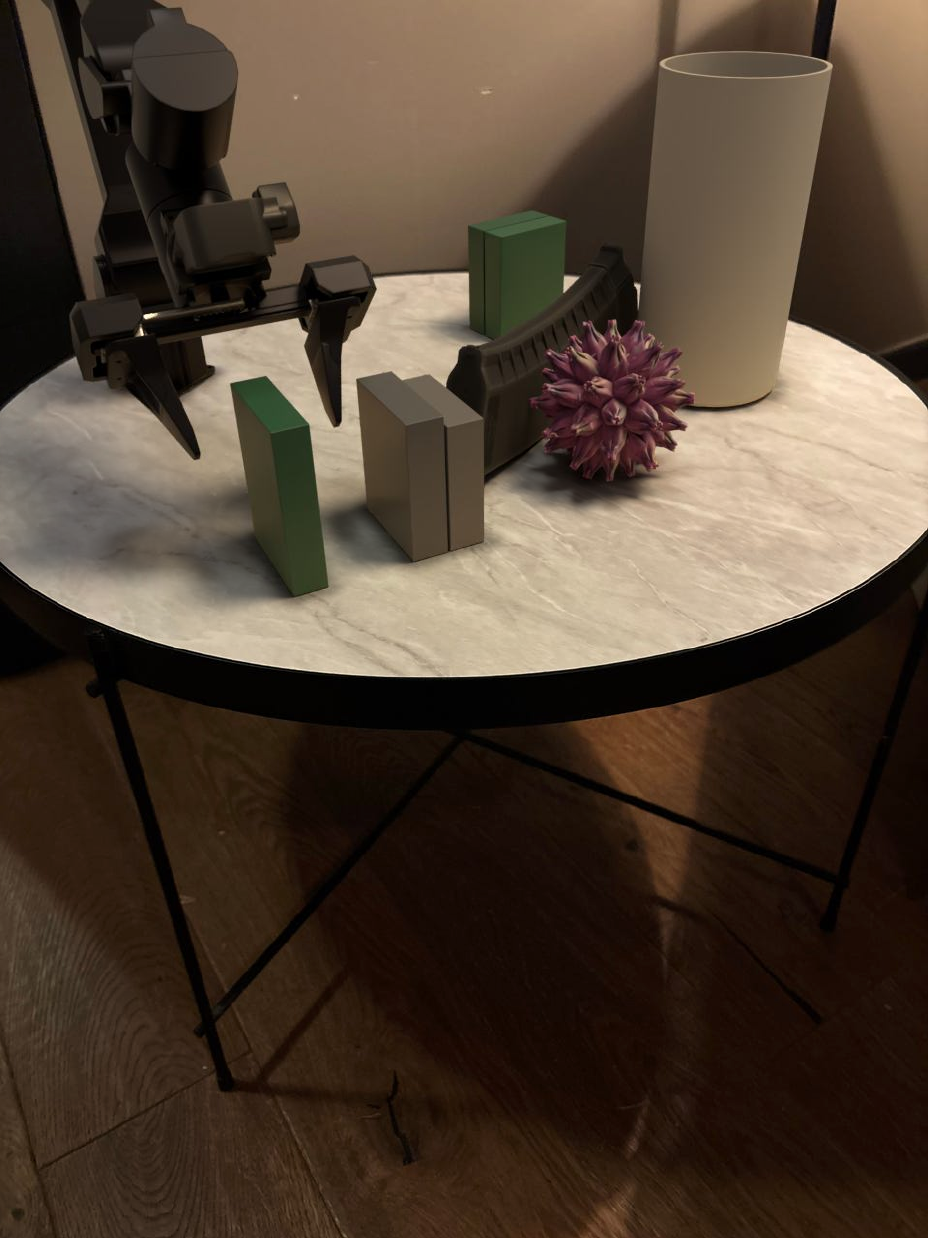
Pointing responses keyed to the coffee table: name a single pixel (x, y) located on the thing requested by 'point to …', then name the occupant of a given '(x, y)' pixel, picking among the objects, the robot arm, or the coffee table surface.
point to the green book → (281, 483)
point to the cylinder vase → (729, 214)
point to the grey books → (422, 463)
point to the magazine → (539, 355)
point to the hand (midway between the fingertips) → (269, 440)
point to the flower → (612, 400)
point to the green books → (514, 270)
